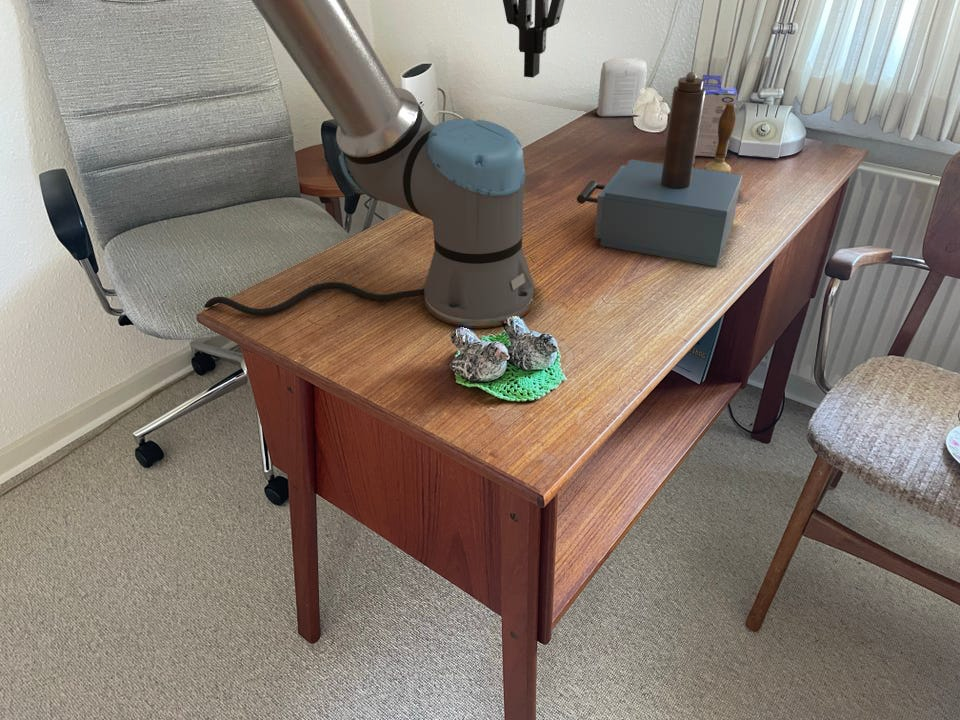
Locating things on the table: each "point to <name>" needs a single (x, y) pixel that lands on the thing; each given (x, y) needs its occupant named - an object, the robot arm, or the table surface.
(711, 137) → the ink cartridge box
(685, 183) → the pepper mill
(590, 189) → the drawer
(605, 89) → the white tall block
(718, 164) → the hand bell
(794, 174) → the table surface
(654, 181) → the cabinet
